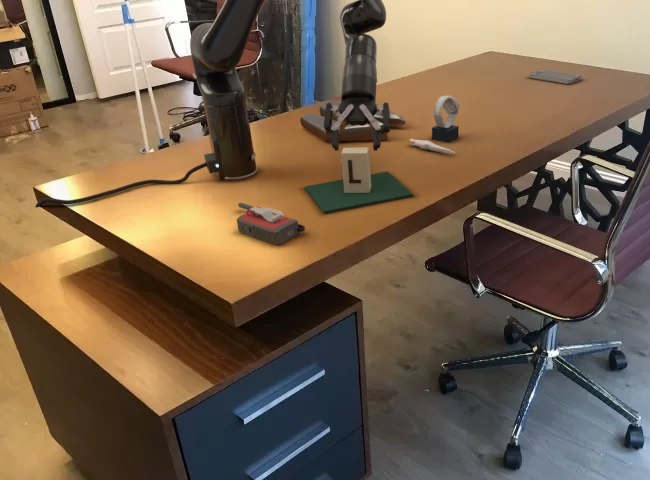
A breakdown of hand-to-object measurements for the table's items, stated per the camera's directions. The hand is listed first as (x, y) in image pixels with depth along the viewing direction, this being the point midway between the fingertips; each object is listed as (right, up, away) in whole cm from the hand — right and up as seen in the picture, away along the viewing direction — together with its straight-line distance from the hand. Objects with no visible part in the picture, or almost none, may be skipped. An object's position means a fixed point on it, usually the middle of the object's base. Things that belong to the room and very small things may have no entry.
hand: (355, 149), depth 141 cm
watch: (+22, +10, +32) cm, 40 cm away
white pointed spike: (+18, +8, +27) cm, 33 cm away
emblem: (-4, +15, +42) cm, 45 cm away
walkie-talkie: (-18, -18, -10) cm, 28 cm away
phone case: (+64, +38, +73) cm, 104 cm away
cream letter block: (0, -8, +3) cm, 9 cm away
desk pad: (0, -9, +3) cm, 9 cm away
